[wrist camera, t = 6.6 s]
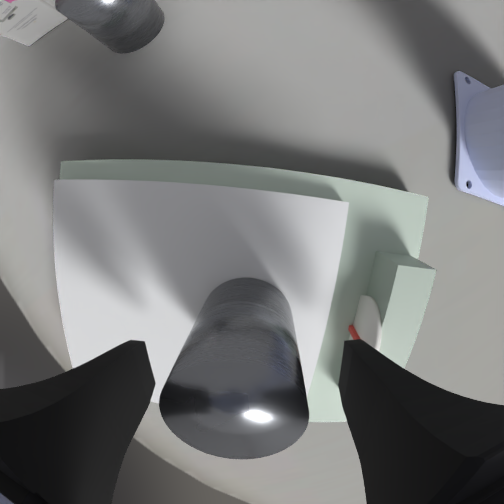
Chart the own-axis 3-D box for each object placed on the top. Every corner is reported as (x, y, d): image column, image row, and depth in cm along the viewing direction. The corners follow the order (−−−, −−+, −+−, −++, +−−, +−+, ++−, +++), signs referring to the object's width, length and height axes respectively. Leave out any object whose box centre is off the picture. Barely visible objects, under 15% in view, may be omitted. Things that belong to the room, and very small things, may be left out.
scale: (410, 195, 13) (464, 201, 9) (354, 401, 17) (372, 453, 12) (81, 162, 14) (23, 160, 9) (92, 363, 17) (58, 403, 12)
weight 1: (170, 1, 11) (136, -54, 6) (156, 48, 12) (109, -2, 6) (116, 11, 11) (71, -31, 6) (100, 57, 12) (44, 22, 7)
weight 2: (292, 275, 12) (314, 359, 6) (291, 355, 13) (304, 457, 7) (197, 278, 12) (143, 358, 6) (207, 356, 13) (176, 453, 7)
